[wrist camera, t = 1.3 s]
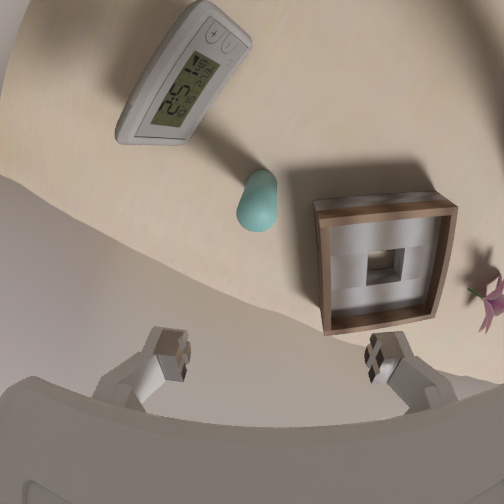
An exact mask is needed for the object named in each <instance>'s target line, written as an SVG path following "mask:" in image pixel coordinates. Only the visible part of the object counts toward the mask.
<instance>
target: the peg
mask: <svg viewBox="0 0 504 504" xmlns="http://www.w3.org/2000/svg"><path fill="white" fill-rule="evenodd" d="M276 208H277V181H276V178H275V176H274V175H273V174H272V173H271V172H269V171H267V170H258V171H255V172H254V173H252V174H251V175H250V177H249V179H248V182H247V184H246V187H245V189H244V192H243V194H242V197H241V199H240V202H239V205H238V207H237V212H236V213H237V219H238V221H239V223H240V224H241V225H242V226H243V227H244V228H245V229H247V230H249V231H252V232H262V231H265V230H267V229H269V228H270V227H271V226H272V225H273V224H274V222H275V219H276Z"/></svg>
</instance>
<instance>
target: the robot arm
mask: <svg viewBox="0 0 504 504" xmlns="http://www.w3.org/2000/svg"><path fill="white" fill-rule="evenodd" d="M187 339H188V333H187V331H186V330H180V329H172V328H164V327H156V326H154V327H153V328H152V330H151V332H150V334H149V336H148V339H147V341H146V343H145V345H144V348H143V350H142V352H138V353H136V354H135V355H133V356H132V357H130V358H129V359H127V360H126V361H125V362H123V363H122V364H120V365H119V366H117V367H116V368H114V369H113V370H111V371H110V372H108V373H107V374H105V375H104V376H102V377H101V379H100V381H99V383H98V385H97V387H96V390H95V391H94V394H93V396H92V398H90V397H87V396H84V395H81V394H78V393H76V392H73V391H70V390H67V389H65V388H62V387H60V386H57V385H55V384H52V383H50V382H47V381H45V380H43V379H41V378H38V377H36V376H30V377H27V378H25V379H23V380H21V381H19V382H17V383H16V384H14V385H12V386H10V387H9V388H8V389H6V391H5V392H4V393H3V394H2V395H1V397H0V504H504V384H501V385H499V386H496V387H494V388H491V389H489V390H487V391H484V392H481V393H479V394H476V395H473V396H471V397H468V398H465V399H462V400H459V401H458V399H457V397H456V394H455V392H454V389H453V387H452V385H451V382H450V381H449V380H448V379H447V378H445V377H444V376H443V375H441V374H440V373H438V372H437V371H436V370H435V369H433V368H432V367H431V366H430V365H428V364H427V363H426V362H424V361H423V360H422V359H420V358H419V357H418V356H414V354H413V352H412V350H411V347H410V345H409V343H408V341H407V339H406V336H405V334H404V332H402V331H396V332H384V333H373V334H372V335H371V337H370V342H371V343H370V344H369V345H367V347H366V350H365V355H364V358H365V364H366V366H367V367H368V368H370V370H369V372H368V375H369V378H370V382H371V384H380V383H387V384H388V385H389V386H390V387H391V388H392V389H393V390H394V391H395V392H396V393H397V395H398V396H399V397H400V398H401V399H402V400H403V401H404V402H405V403H406V404H407V405H408V406H409V407H410V408H409V409H408V411H407V412H406V413H405V414H404V415H402V416H397V417H392V418H386V419H380V420H374V421H367V422H360V423H352V424H343V425H333V426H332V425H331V426H318V427H291V428H290V427H289V428H273V427H244V426H230V425H219V424H210V423H201V422H194V421H186V420H180V419H175V418H169V417H164V416H158V415H153V414H149V413H146V411H145V409H144V408H143V406H142V403H143V402H144V401H145V400H146V399H147V398H148V397H149V396H150V395H152V394H153V392H154V391H156V390H157V389H158V388H159V387H160V386H161V385H162V384H163V383H164V382H165V381H166V380H172V381H180V382H184V379H185V375H186V372H187V369H186V365H187V364H188V363H189V361H190V356H191V346H190V343H189V342H188V341H187Z"/></svg>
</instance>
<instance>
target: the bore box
mask: <svg viewBox="0 0 504 504" xmlns="http://www.w3.org/2000/svg"><path fill="white" fill-rule="evenodd" d="M313 205H314V216H315V227H316V240H317V254H318V271H319V291H320V311H321V318H322V325H323V332H324V336H330V335H338V334H346V333H353V332H360V331H367V330H373V329H379V328H385V327H391V326H396V325H402V324H407V323H412V322H417V321H422V320H427V319H431V318H435V315H436V312H437V308H438V305H439V301H440V298H441V294H442V290H443V287H444V283H445V279H446V274H447V270H448V266H449V261H450V256H451V251H452V246H453V240H454V234H455V227H456V220H457V212H458V206H456V205H455V204H454V203H452V202H451V201H449V200H448V199H447V198H445V197H444V196H442V195H441V194H440V193H438V192H437V191H425V192H408V193H393V194H379V195H367V196H355V197H344V198H334V199H324V200H315V201H313ZM390 249H395V255H394V265H393V268H386V269H379V270H371V271H367V260H368V252H374V251H382V250H390Z"/></svg>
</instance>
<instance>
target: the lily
mask: <svg viewBox="0 0 504 504" xmlns="http://www.w3.org/2000/svg"><path fill="white" fill-rule="evenodd" d="M503 289H504V280H503V281H502V276H501V273H500V274H499V278H498V282H497V285H496V289H495V290H494V291H493V292H491V293H490V294H489V295H487V296H486V297H482V296H480V295H478V294H477V293H475V292H473V291H472V290H470V289H469V288H468V290H469V291H471V292H472V293H474V294H475V295H477V296H479V297H480V298H482V299H483V301H484V306H485V312H486V316H485V319H484V321H483V323H482V325H481V327H480V329H479V332H480V331H482V330H483V329H484V328H485V327H486V332H485V334H486V333H487V331H488V329H489V327H490V325H491V322H492V319H493V316H498V315H500V314H502V313H503V312H504V295H503V294H501V293H502V291H503Z"/></svg>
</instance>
